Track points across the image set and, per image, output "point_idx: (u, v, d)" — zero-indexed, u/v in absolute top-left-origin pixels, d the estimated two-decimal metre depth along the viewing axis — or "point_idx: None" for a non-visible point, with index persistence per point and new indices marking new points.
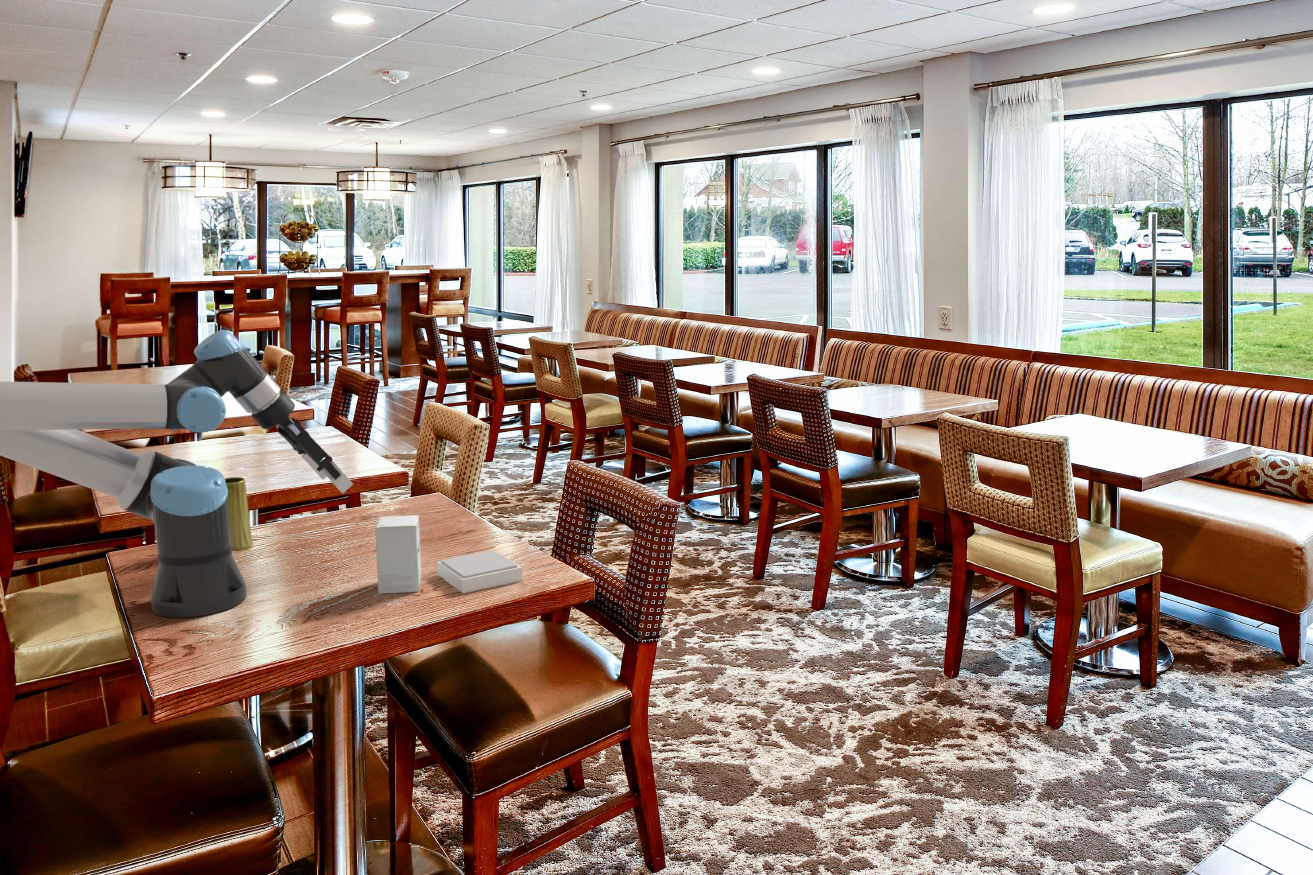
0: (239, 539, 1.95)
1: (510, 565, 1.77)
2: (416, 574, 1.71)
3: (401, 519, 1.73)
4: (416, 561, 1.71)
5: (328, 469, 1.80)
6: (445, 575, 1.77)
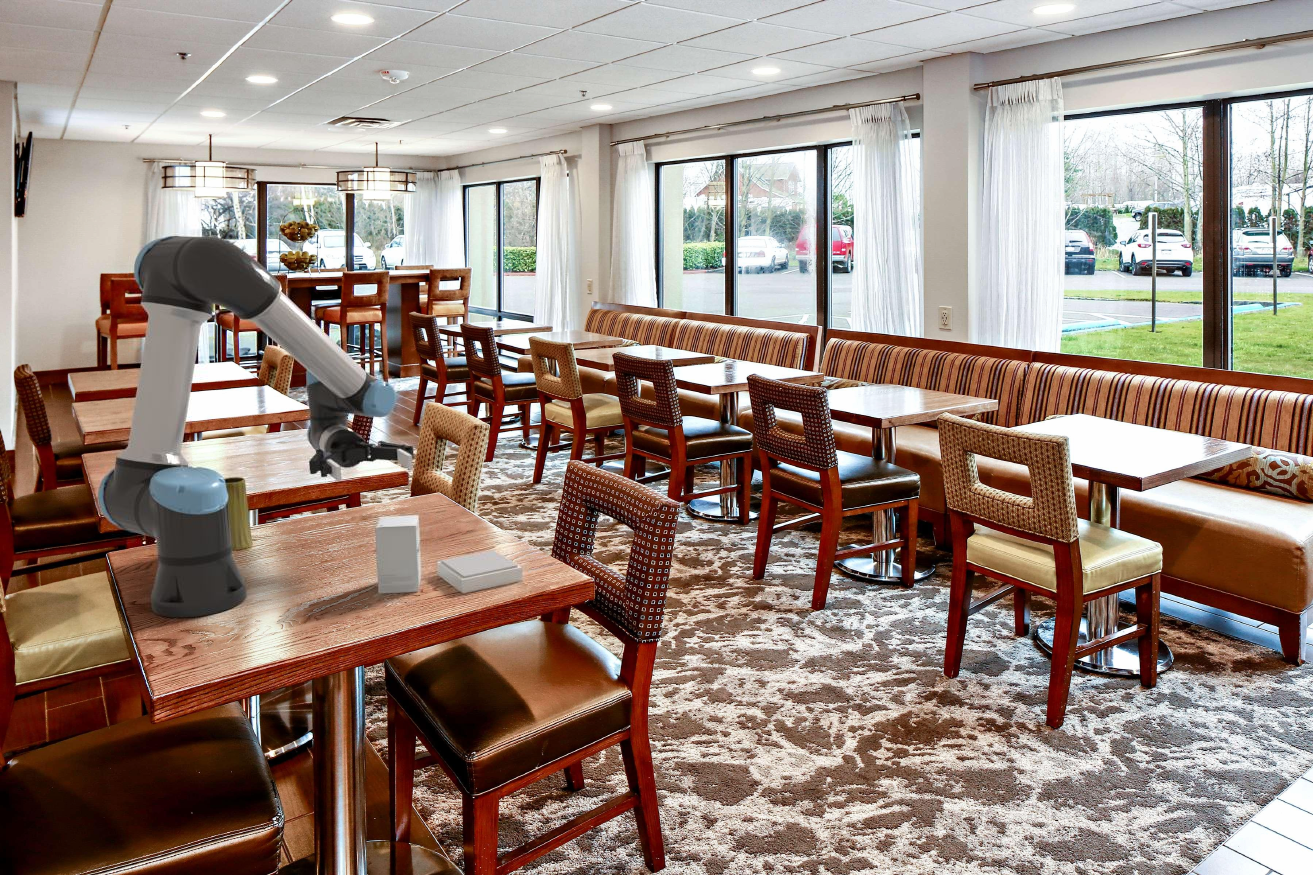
0: (239, 539, 1.95)
1: (510, 565, 1.77)
2: (416, 574, 1.71)
3: (401, 519, 1.73)
4: (416, 561, 1.71)
5: None
6: (445, 575, 1.77)
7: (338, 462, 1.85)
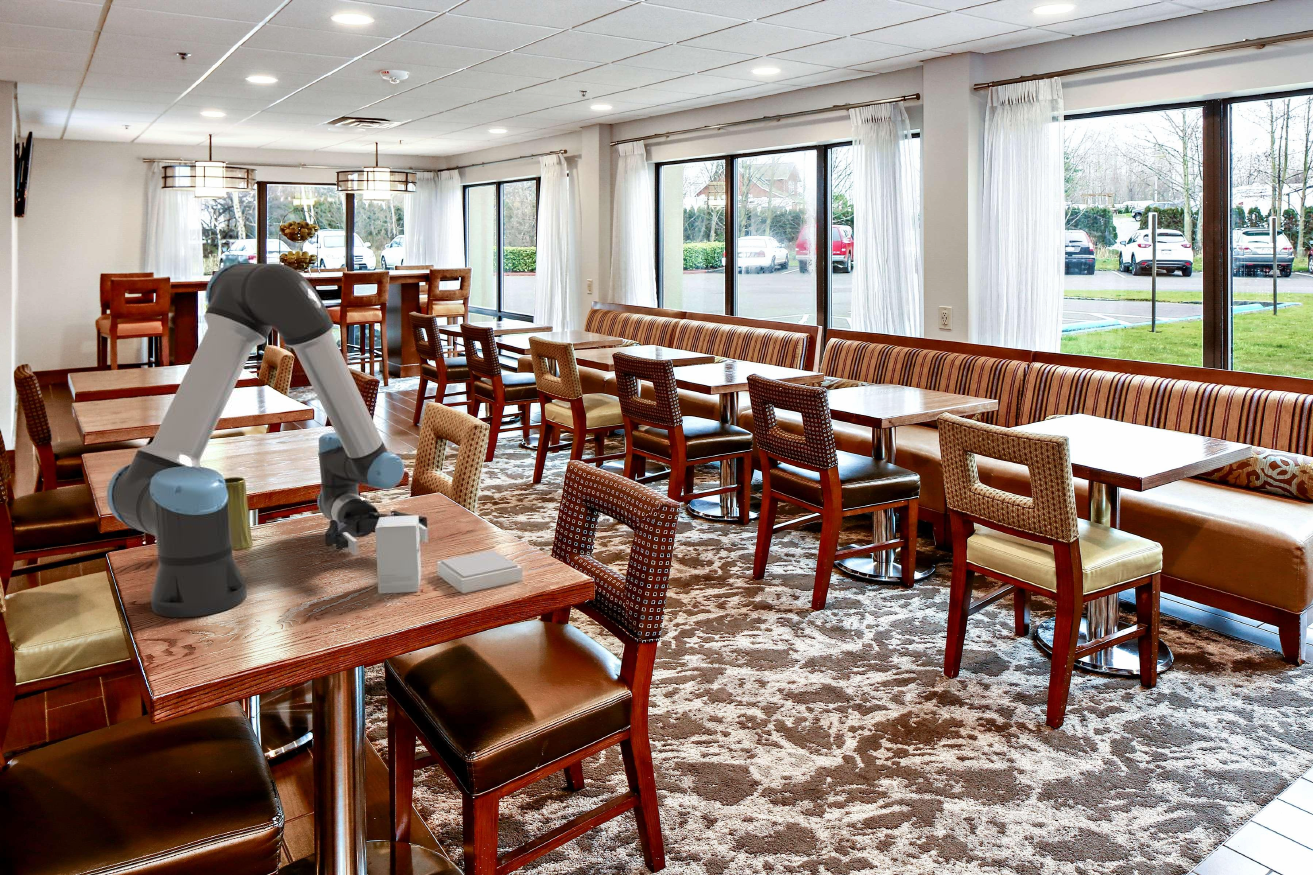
0: (239, 539, 1.95)
1: (510, 565, 1.77)
2: (416, 574, 1.71)
3: (401, 519, 1.73)
4: (416, 561, 1.71)
5: None
6: (445, 575, 1.77)
7: (352, 534, 1.85)
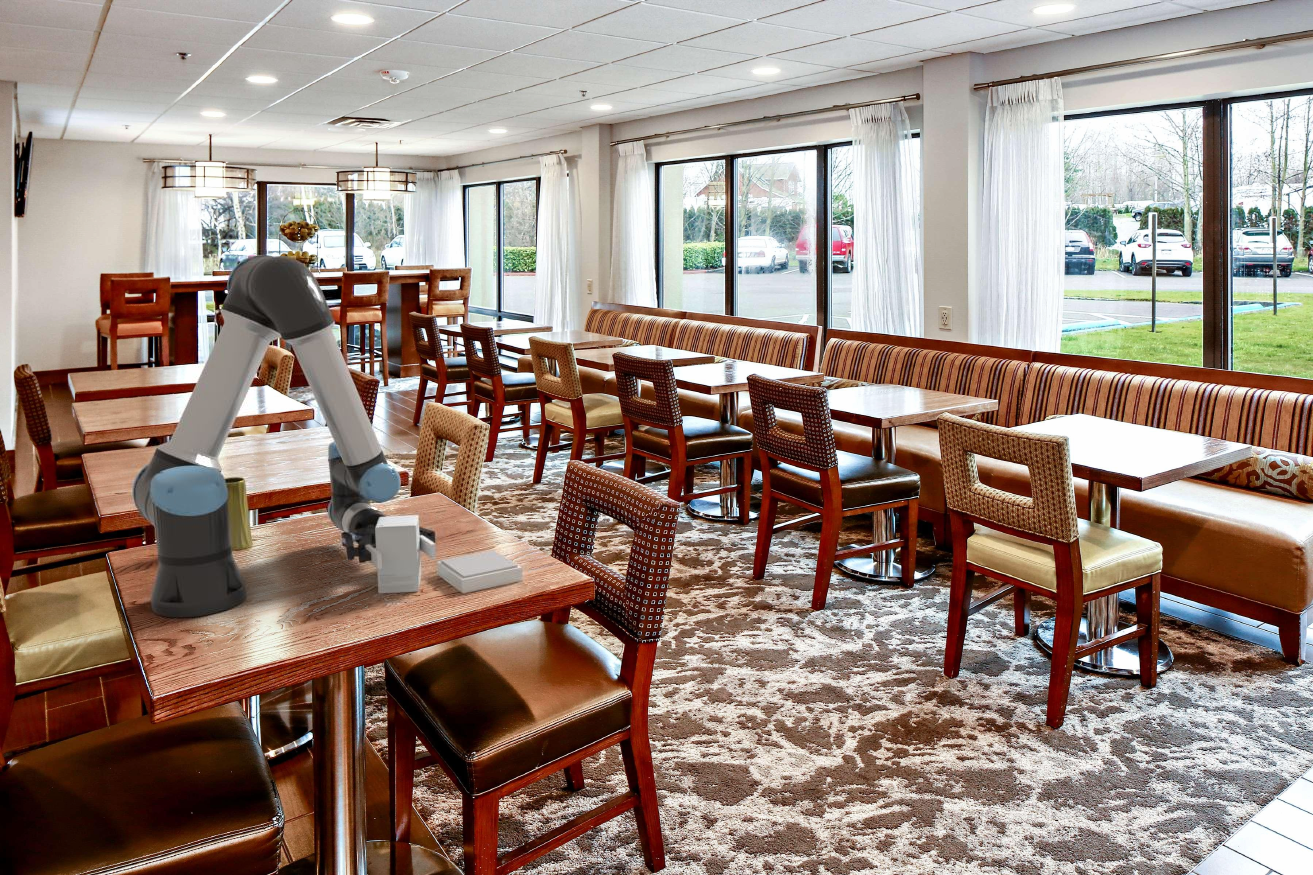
0: (239, 539, 1.95)
1: (510, 565, 1.77)
2: (416, 574, 1.71)
3: (401, 519, 1.73)
4: (416, 561, 1.71)
5: None
6: (445, 575, 1.77)
7: None
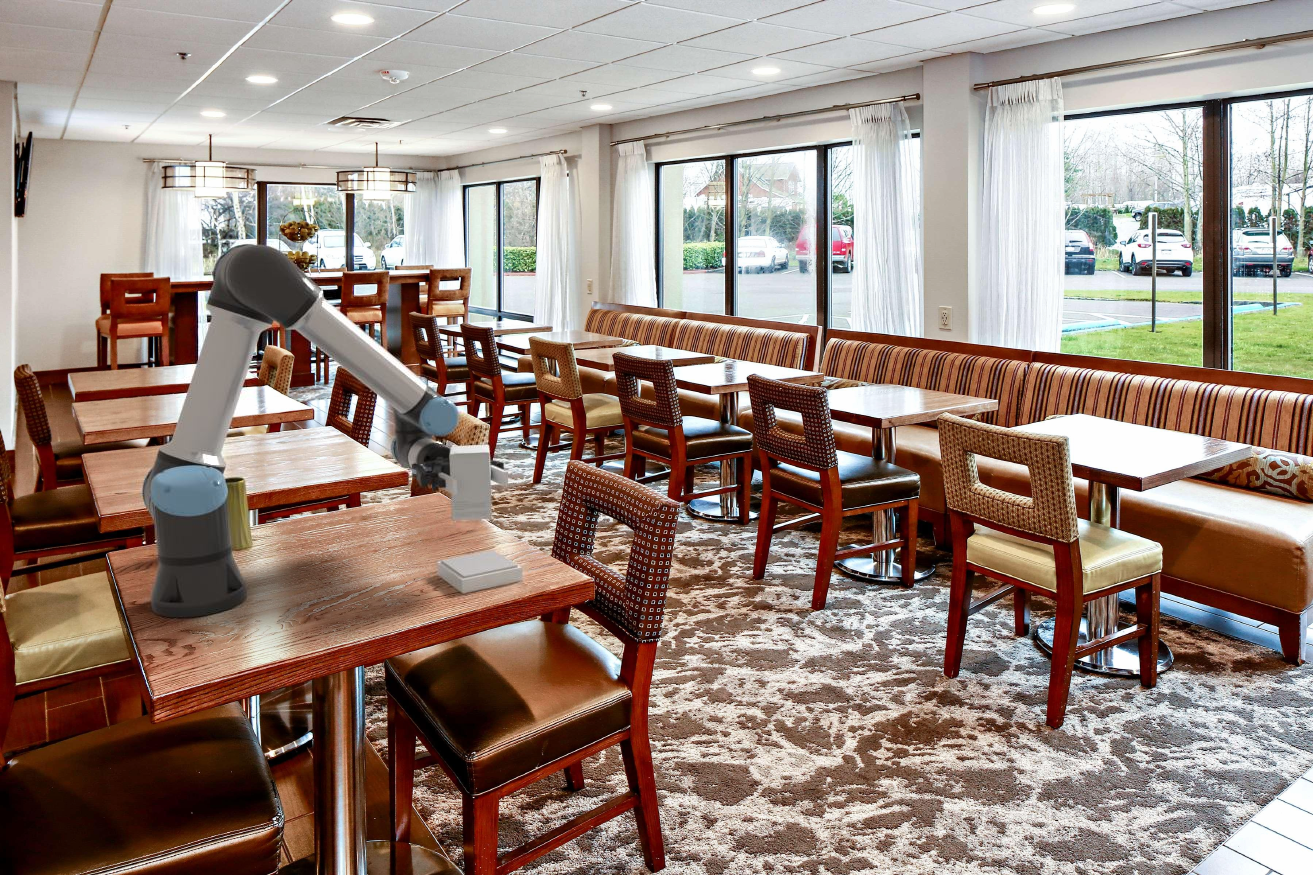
0: (239, 539, 1.95)
1: (510, 565, 1.77)
2: (489, 501, 1.73)
3: (473, 448, 1.75)
4: (489, 488, 1.73)
5: None
6: (445, 575, 1.77)
7: None
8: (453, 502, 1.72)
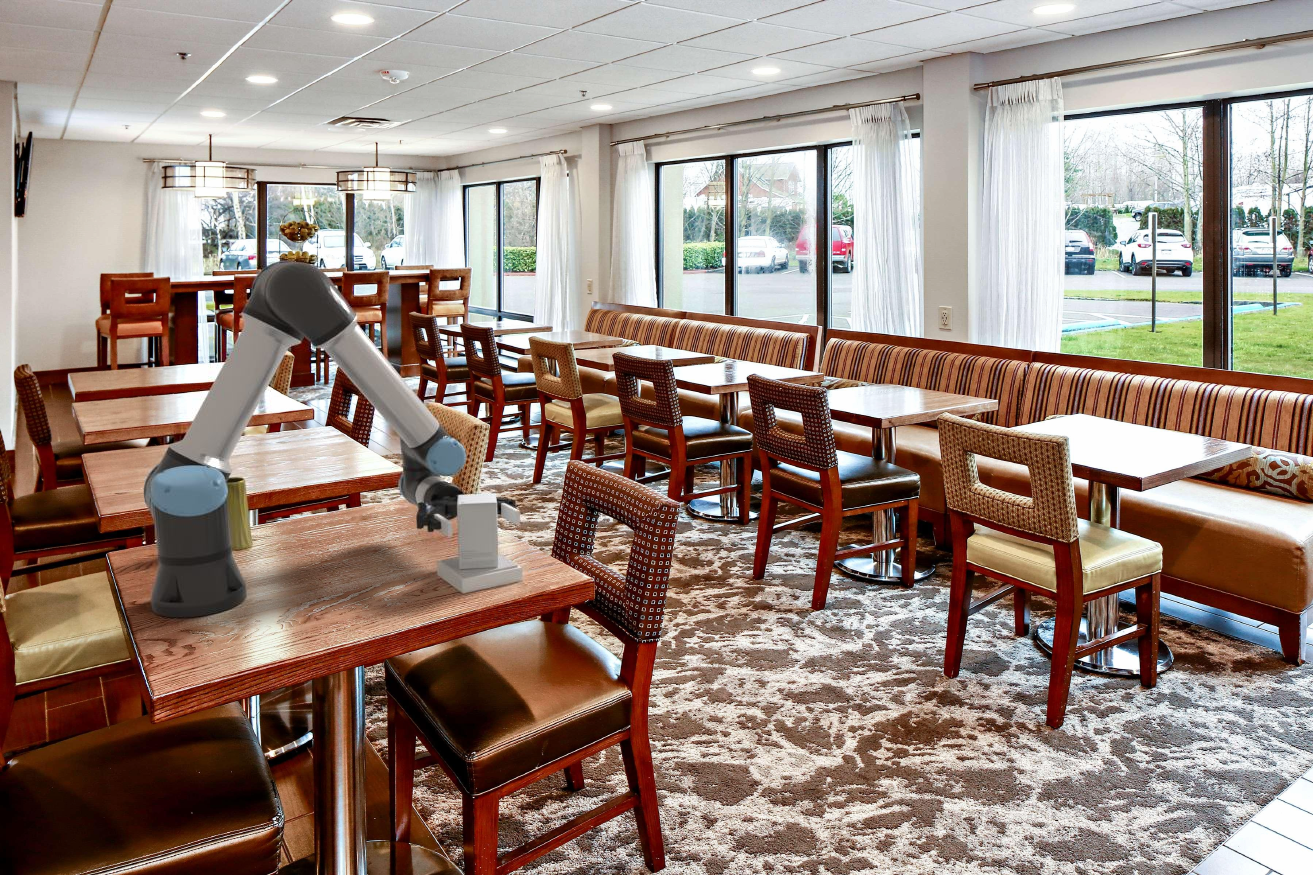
0: (239, 539, 1.95)
1: (510, 565, 1.77)
2: (496, 550, 1.75)
3: (480, 497, 1.77)
4: (496, 537, 1.75)
5: None
6: (445, 575, 1.77)
7: (442, 516, 1.81)
8: (460, 551, 1.74)
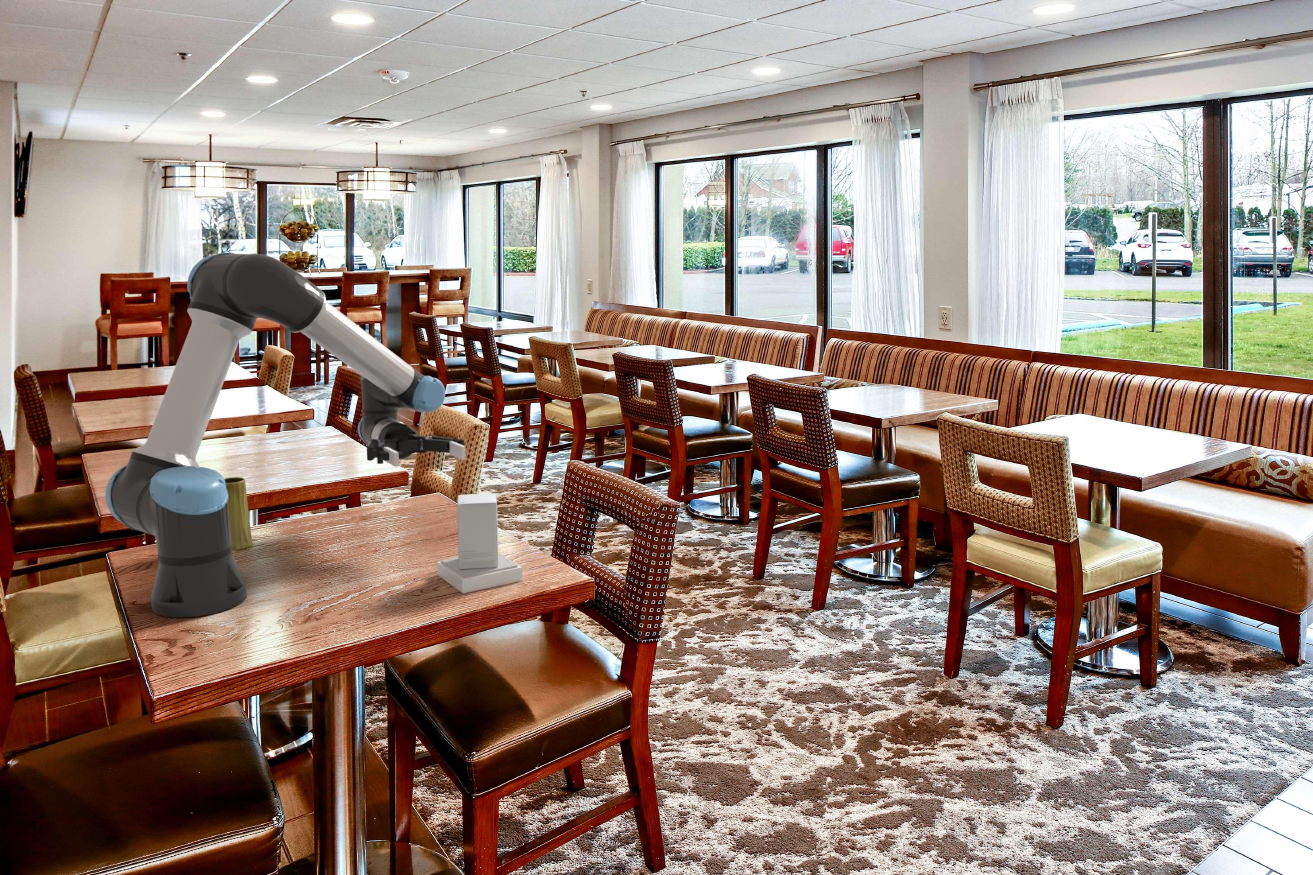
0: (239, 539, 1.95)
1: (510, 565, 1.77)
2: (496, 550, 1.75)
3: (480, 497, 1.77)
4: (496, 537, 1.75)
5: None
6: (445, 575, 1.77)
7: None
8: (460, 551, 1.74)
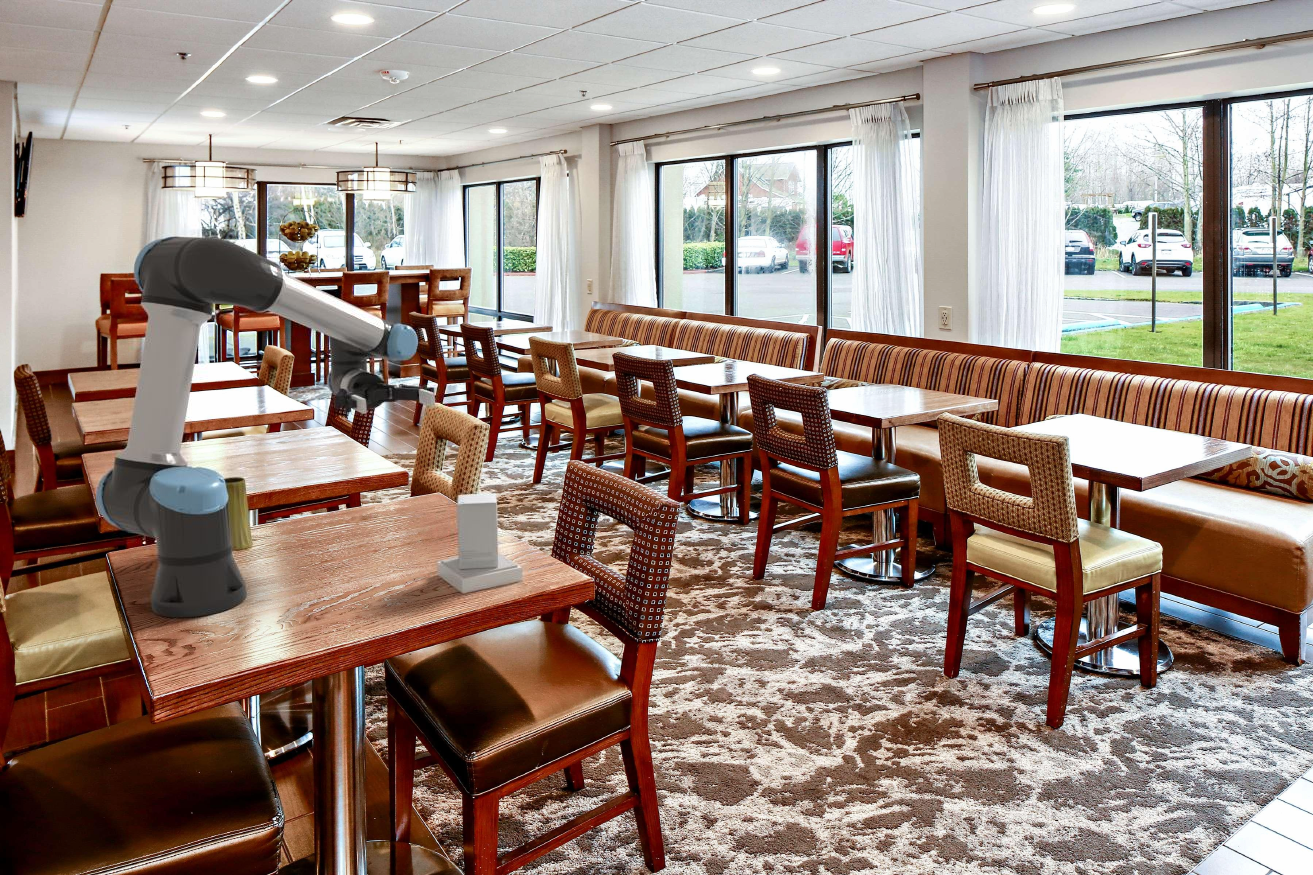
0: (239, 539, 1.95)
1: (510, 565, 1.77)
2: (496, 550, 1.75)
3: (480, 497, 1.77)
4: (496, 537, 1.75)
5: None
6: (445, 575, 1.77)
7: None
8: (460, 551, 1.74)
